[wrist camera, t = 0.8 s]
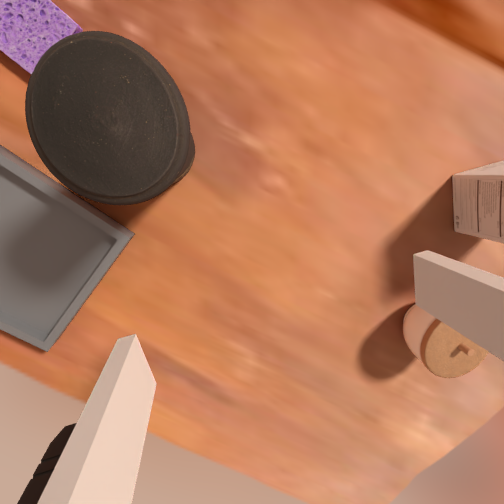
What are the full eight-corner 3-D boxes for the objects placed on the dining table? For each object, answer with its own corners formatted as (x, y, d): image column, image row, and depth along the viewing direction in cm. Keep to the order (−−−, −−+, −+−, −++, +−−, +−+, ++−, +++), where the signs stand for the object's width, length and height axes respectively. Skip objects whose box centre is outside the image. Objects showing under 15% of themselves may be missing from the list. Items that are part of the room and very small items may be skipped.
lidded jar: (443, 277, 46) (502, 303, 37) (453, 331, 49) (509, 366, 40) (383, 304, 45) (428, 337, 36) (397, 357, 48) (441, 398, 39)
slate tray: (-96, 265, 33) (-119, 272, 30) (-14, 135, 31) (-32, 132, 28) (57, 340, 38) (47, 351, 36) (134, 233, 36) (130, 238, 34)
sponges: (-38, -77, 27) (-56, -95, 25) (87, 33, 30) (79, 24, 29) (-78, -13, 27) (-97, -25, 26) (49, 87, 31) (40, 82, 29)
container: (115, 178, 34) (4, 185, 15) (127, 97, 32) (18, -11, 13) (188, 196, 36) (172, 223, 17) (204, 121, 34) (206, 57, 15)
